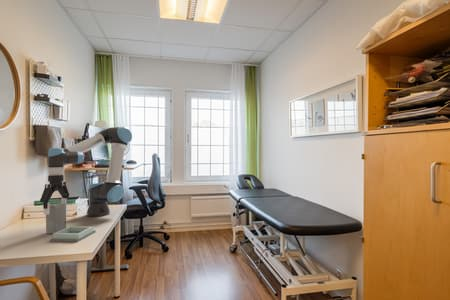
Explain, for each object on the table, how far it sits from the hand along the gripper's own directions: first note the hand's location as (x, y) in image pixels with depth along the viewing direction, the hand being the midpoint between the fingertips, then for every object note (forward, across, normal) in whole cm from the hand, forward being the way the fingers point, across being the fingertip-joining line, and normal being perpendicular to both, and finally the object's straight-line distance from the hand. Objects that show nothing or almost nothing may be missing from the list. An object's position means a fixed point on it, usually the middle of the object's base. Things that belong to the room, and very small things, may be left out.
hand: (55, 211), depth 148 cm
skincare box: (+12, 0, 0) cm, 12 cm away
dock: (+12, +8, +16) cm, 21 cm away
